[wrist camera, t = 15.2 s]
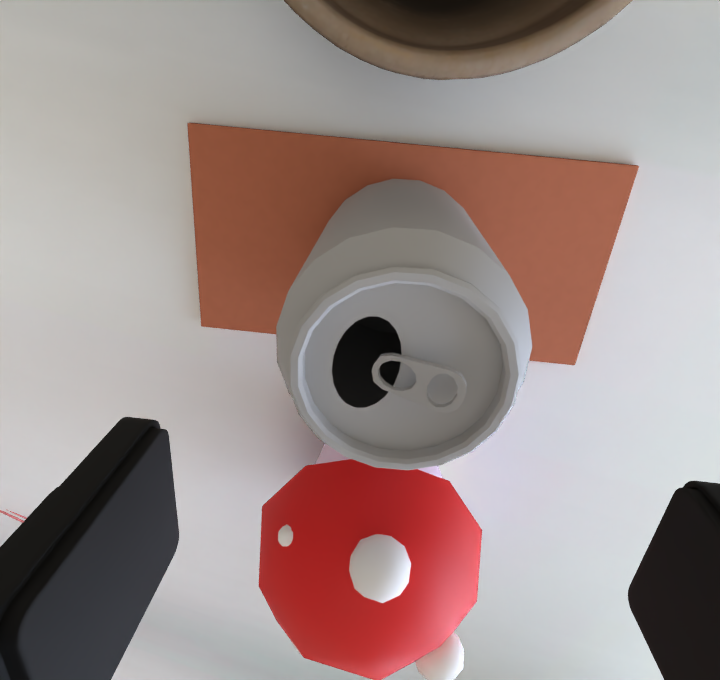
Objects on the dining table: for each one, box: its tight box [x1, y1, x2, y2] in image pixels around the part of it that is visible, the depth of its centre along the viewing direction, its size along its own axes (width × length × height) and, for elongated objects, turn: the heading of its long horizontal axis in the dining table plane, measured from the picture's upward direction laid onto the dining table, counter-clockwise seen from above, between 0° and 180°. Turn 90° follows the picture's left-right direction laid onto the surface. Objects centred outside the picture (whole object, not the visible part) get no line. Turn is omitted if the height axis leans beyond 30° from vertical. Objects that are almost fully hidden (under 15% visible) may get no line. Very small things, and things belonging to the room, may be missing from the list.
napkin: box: [188, 123, 639, 365], centre depth 23 cm, size 10×20×1 cm, turn 85°
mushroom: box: [259, 443, 482, 680], centre depth 24 cm, size 11×11×12 cm
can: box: [276, 179, 532, 470], centre depth 18 cm, size 8×8×12 cm
